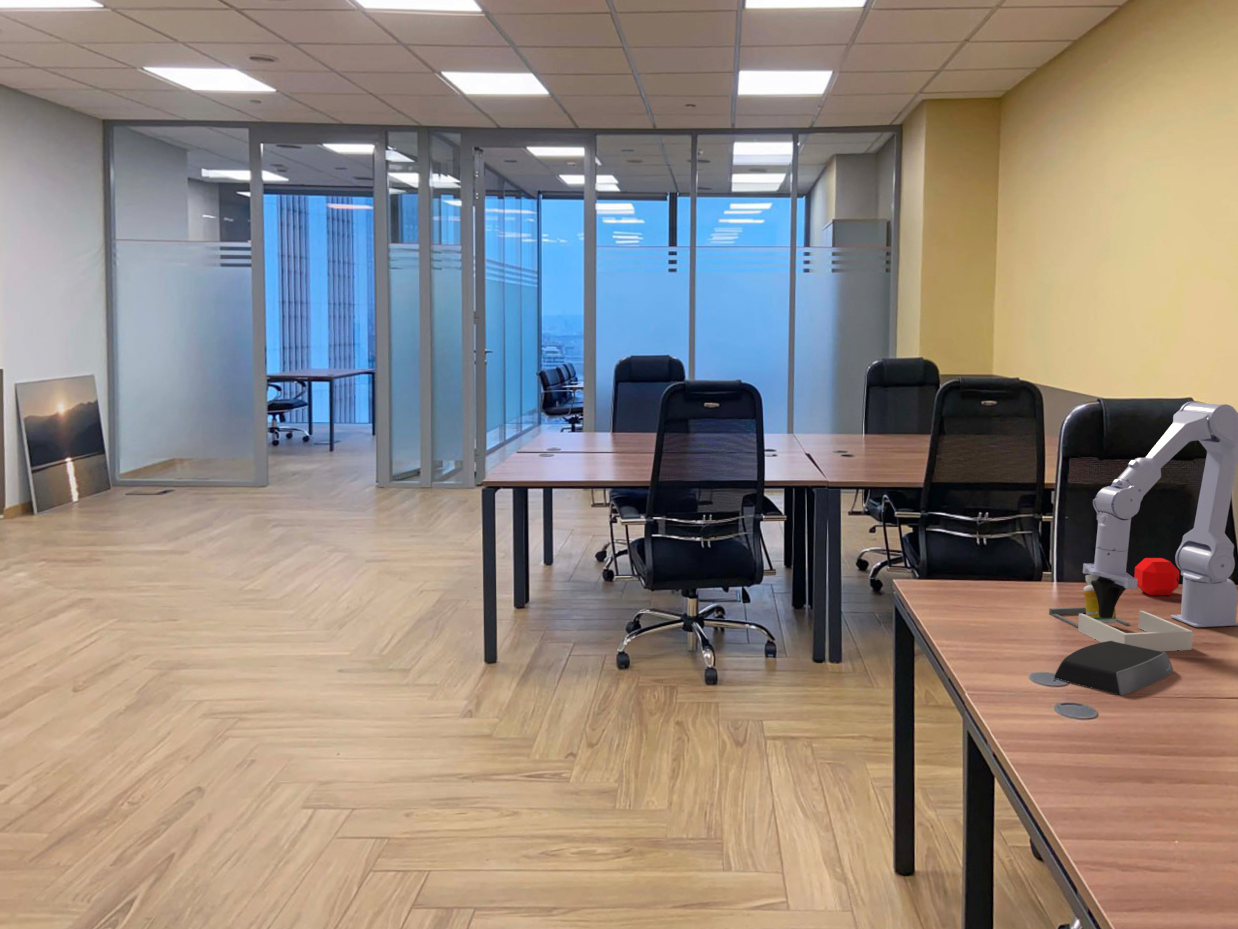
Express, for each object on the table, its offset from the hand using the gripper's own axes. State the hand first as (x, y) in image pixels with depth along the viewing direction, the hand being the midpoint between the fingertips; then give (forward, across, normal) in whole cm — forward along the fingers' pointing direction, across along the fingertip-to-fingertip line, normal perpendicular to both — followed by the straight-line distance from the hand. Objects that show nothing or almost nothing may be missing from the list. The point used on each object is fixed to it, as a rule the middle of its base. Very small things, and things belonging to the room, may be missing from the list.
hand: (1105, 617), depth 214 cm
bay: (+3, +7, +1) cm, 7 cm away
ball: (+1, -25, +29) cm, 38 cm away
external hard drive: (+4, +25, -14) cm, 29 cm away
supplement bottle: (+2, -2, +1) cm, 3 cm away
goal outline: (+2, -7, +2) cm, 8 cm away
